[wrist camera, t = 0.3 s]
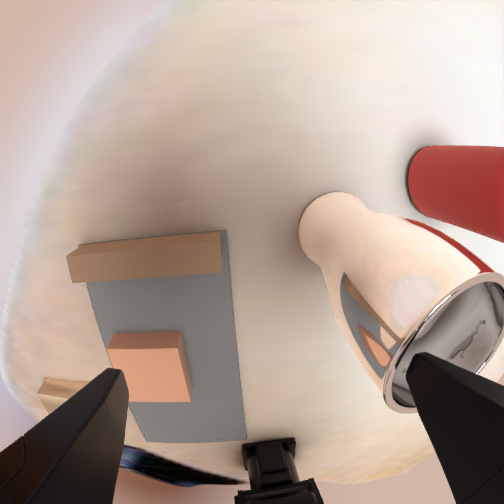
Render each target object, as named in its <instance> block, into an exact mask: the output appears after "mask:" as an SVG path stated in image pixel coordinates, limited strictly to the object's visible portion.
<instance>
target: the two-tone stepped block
mask: <svg viewBox="0 0 504 504" xmlns="http://www.w3.org/2000/svg"><path fill="white" fill-rule="evenodd" d="M87 384H88V383H87V382H76V381H67V380H59V379H51V378H46V379H45V381H44V382H43V384H42V385H41V387H40V389H39V390H38V392H37V395H38V397H39V398H40V400H41V402H42V403H43V405H44V407H45V408H46V410H47V412H48V413H49V414H50V413H51V412H53V411H54V410H55V409H56V408H58V407H59V406H60V405H61V404H63V403H64V402H65V401H67V400H68V399H69V398H70V397H72V396H73V395H74V394H75V393H77V392H78V391H79V390H80V389H82V388H83V387H84V386H85V385H87Z"/></svg>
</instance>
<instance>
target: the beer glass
mask: <svg viewBox="0 0 504 504" xmlns="http://www.w3.org/2000/svg"><path fill="white" fill-rule="evenodd" d="M299 241H300V245H301V247H302V249H303V251H304V253H305V254H306V255H307V257H308V258H309V259H310V260H311V261H313V262H314V263H315V264H317V265H318V266H320V267H321V269H322V271H323V275H324V279H325V283H326V287H327V291H328V295H329V298H330V302H331V305H332V308H333V311H334V314H335V317H336V319H337V322H338V324H339V326H340V328H341V330H342V332H343V334H344V336H345V338H346V340H347V342H348V344H349V345H350V347H351V349H352V350H353V352H354V354H355V356H356V357H357V359H358V360H359V362H360V363H361V365H362V366H363V368H364V369H365V371H366V373H367V374H368V376H369V377H370V378H371V380H372V381H373V383H374V384H375V386H376V387H377V389H378V390H379V392H380V393H381V395H382V396H383V398H384V401H385V403H386V405H387V406H388V407H389V408H390V409H392V410H393V411H395V412H399V413H407V414H408V413H417V412H418V411H417V408H416V405H415V402H414V400H413V397H412V394H411V392H410V389H409V386H408V384H407V381H406V371H407V369H408V367H409V364H410V362H411V360H412V357H413V356H414V354H416V353H420V352H428V353H430V354H432V355H434V356H437V357H439V358H441V359H443V360H446V361H448V362H450V363H452V364H455V365H457V366H459V367H461V368H464V369H466V370H468V371H471V372H473V373H475V374H477V375H478V374H479V373H480V372H481V371H482V369H483V368H484V367H485V366H486V364H487V363H488V362H489V361H490V359H491V358H492V356H493V355H494V353H495V352H496V350H497V348H498V347H499V345H500V343H501V341H502V339H503V337H504V276H503V275H501V274H499V273H497V272H496V271H495V270H494V269H492V268H491V267H490V266H489V265H487V264H486V263H485V262H484V261H483V260H481V259H480V258H479V257H478V256H476V255H475V254H474V253H473V252H471V251H470V250H468V249H467V248H466V247H464V246H463V245H462V244H460V243H459V242H457V241H456V240H454V239H452V238H451V237H449V236H447V235H446V234H444V233H442V232H441V231H439V230H436V229H434V228H432V227H430V226H428V225H426V224H424V223H421V222H418V221H415V220H411V219H408V218H404V217H400V216H395V215H390V214H384V213H378V212H373V211H370V210H369V209H368V208H367V206H366V205H365V204H364V203H363V202H362V201H361V200H360V199H358V198H357V197H355V196H353V195H351V194H348V193H344V192H331V193H327V194H325V195H322V196H320V197H319V198H317V199H316V200H314V201H313V202H312V203H311V204H310V205H309V206H308V207H307V209H306V210H305V212H304V213H303V215H302V218H301V220H300V224H299Z"/></svg>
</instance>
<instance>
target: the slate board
mask: <svg viewBox="0 0 504 504" xmlns="http://www.w3.org/2000/svg"><path fill="white" fill-rule="evenodd" d="M78 247H79V248H78V249H76V250H75V251H73V252H72V253H70V254H69V255H67V256H66V257H67V262H68V266H69V271H70V275H71V279H72V283H78V282H86V284H87V288H88V292H89V296H90V299H91V303H92V307H93V310H94V314H95V317H96V320H97V324H98V327H99V330H100V333H101V336H102V339H103V342H104V345H105V348H106V351H107V347H108V345H109V344H110V342H111V340H112V338H113V336H114V334H115V333H145V332H170V331H181V335H182V340H183V345H184V349H185V354H186V359H187V363H188V368H189V372H190V376H191V380H192V393H191V402H133V401H129V402H128V405H129V408H130V410H131V412H132V414H133V416H134V418H135V420H136V422H137V424H138V426H139V428H140V430H141V432H142V434H143V436H144V438H145V440H146V442H165V443H200V442H222V441H236V440H246V439H247V436H246V428H245V419H244V411H243V402H242V393H241V384H240V375H239V365H238V356H237V346H236V336H235V325H234V314H233V304H232V292H231V281H230V269H229V257H228V244H227V231H226V230H225V231H212V232H201V233H189V234H178V235H167V236H156V237H146V238H136V239H126V240H116V241H107V242H98V243H89V244H80V245H78ZM107 354H108V352H107ZM108 356H109V354H108ZM109 359H110V357H109ZM110 362H111V360H110ZM111 364H112V363H111ZM112 367H113V365H112Z"/></svg>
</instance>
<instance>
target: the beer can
mask: <svg viewBox="0 0 504 504" xmlns="http://www.w3.org/2000/svg"><path fill="white" fill-rule="evenodd" d="M408 185H409V193H410V195H411V198H412V201H413V203H414V204H415V206H416V207H417V209H418V210H419V211H420V212H421V213H423V214H424V215H425V216H427V217H430V218H434V219H437V220H440V221H443V222H446V223H449V224H452V225H455V226H458V227H461V228H464V229H467V230H470V231H473V232H475V233H478V234H481V235H484V236H486V237H489V238H492V239H494V240H497V241H500V242H503V243H504V147H492V146H426V147H425V148H423V149H421V150H420V151H419V152H418V153H417V154H416V156H415V157H414V158H413V160H412V163H411V166H410V168H409V176H408Z"/></svg>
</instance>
